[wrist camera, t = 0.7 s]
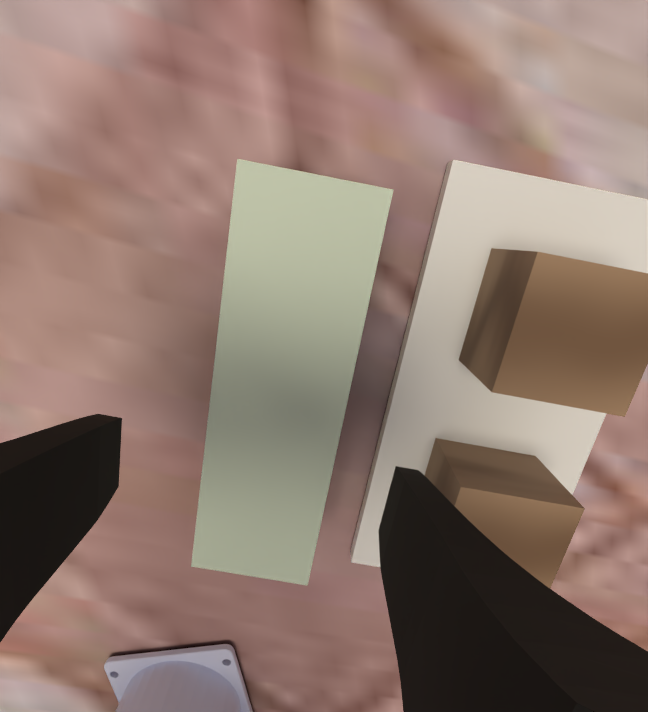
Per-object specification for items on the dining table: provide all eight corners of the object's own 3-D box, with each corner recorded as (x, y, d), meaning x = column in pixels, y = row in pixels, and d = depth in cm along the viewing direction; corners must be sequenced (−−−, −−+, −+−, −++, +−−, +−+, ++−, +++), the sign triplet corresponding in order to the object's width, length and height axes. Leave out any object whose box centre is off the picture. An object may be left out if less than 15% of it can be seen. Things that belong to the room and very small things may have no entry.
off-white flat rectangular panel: (524, 580, 23) (531, 592, 22) (350, 551, 23) (351, 562, 22) (676, 209, 17) (692, 208, 17) (447, 163, 17) (453, 159, 16)
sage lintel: (312, 510, 22) (307, 585, 17) (221, 494, 22) (191, 566, 17) (376, 202, 18) (393, 189, 13) (263, 179, 18) (237, 158, 13)
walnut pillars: (503, 539, 21) (542, 606, 17) (410, 523, 21) (427, 587, 17) (605, 270, 17) (683, 280, 13) (491, 248, 17) (537, 251, 13)
